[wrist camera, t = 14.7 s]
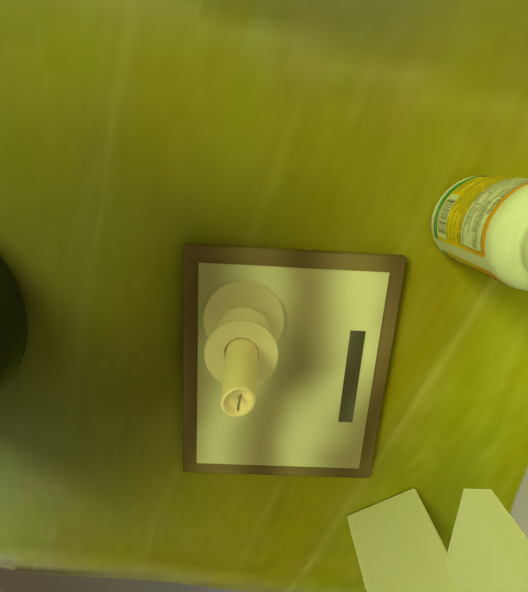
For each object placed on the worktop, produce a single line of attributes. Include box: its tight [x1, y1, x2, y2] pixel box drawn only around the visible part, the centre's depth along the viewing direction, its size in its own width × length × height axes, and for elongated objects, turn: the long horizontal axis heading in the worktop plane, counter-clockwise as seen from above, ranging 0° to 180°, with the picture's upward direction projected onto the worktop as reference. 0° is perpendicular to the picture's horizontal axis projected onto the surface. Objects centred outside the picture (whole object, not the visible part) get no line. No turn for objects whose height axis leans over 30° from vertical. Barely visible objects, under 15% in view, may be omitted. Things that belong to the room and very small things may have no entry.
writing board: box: [183, 243, 407, 478], centre depth 28 cm, size 14×17×1 cm
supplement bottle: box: [431, 176, 528, 291], centre depth 21 cm, size 5×5×10 cm
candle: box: [203, 280, 284, 417], centre depth 21 cm, size 5×5×10 cm
